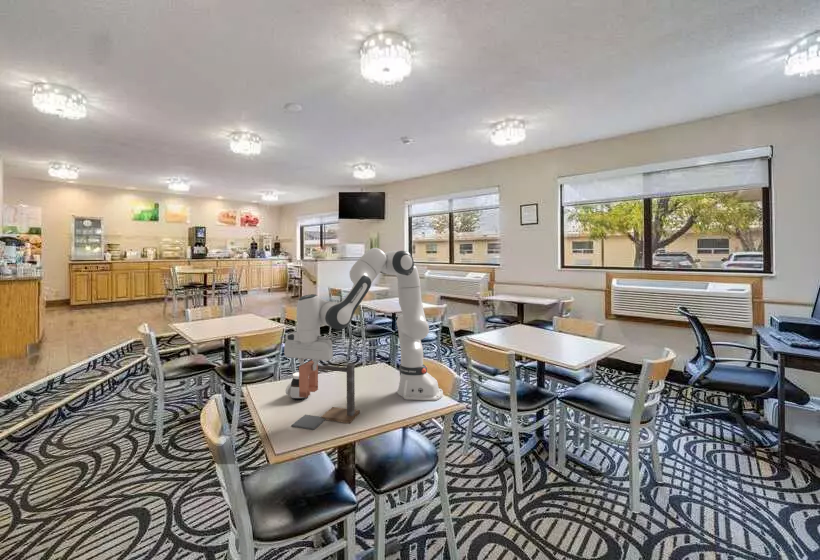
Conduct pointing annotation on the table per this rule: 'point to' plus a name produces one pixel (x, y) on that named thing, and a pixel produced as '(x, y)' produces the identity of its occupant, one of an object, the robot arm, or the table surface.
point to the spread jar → (294, 388)
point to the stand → (350, 412)
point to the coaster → (308, 422)
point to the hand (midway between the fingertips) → (308, 369)
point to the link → (307, 379)
